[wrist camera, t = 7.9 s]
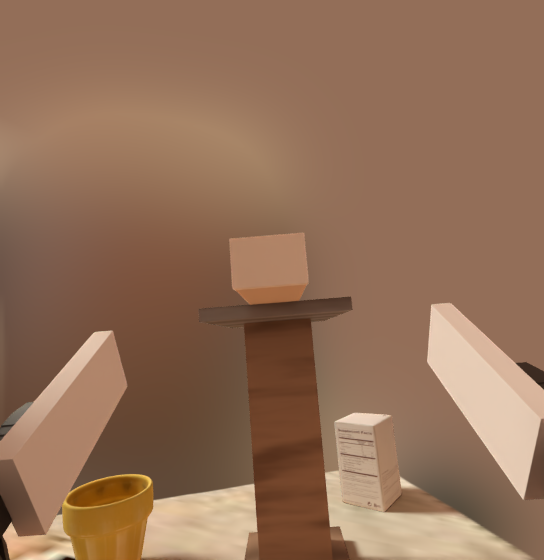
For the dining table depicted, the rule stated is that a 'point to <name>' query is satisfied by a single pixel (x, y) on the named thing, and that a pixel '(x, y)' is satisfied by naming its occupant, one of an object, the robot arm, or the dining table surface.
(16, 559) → the dining table surface
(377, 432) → the supplement box
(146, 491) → the plant pot
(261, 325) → the shelf stand
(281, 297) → the tan rectangular bar
